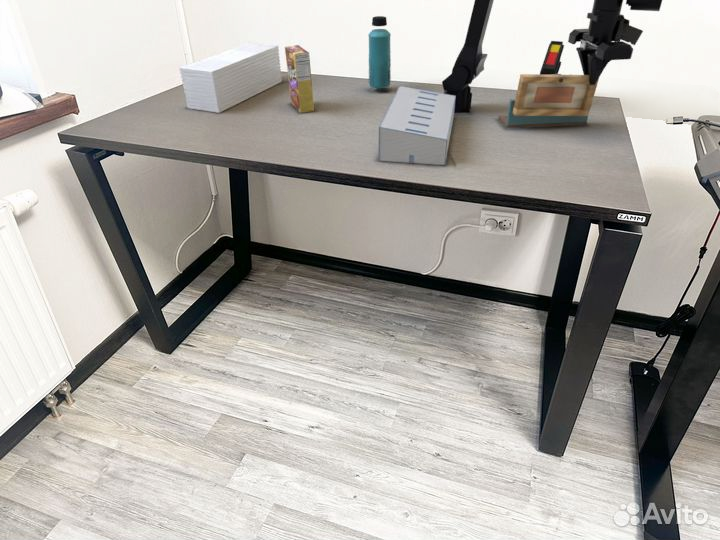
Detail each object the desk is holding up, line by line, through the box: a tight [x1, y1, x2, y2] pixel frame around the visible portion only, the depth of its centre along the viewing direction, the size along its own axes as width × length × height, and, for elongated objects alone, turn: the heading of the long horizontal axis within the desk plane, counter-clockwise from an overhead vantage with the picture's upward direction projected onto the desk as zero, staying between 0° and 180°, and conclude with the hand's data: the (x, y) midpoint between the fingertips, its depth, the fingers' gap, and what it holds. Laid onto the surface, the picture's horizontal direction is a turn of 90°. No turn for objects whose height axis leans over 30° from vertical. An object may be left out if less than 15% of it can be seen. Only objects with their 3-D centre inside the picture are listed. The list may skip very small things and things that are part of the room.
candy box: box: [284, 44, 315, 114], centre depth 139 cm, size 9×4×15 cm, turn 23°
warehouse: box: [378, 85, 456, 166], centre depth 121 cm, size 30×14×8 cm, turn 168°
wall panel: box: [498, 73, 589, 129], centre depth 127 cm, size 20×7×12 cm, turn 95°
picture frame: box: [513, 73, 600, 117], centre depth 122 cm, size 18×2×9 cm, turn 95°
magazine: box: [539, 40, 565, 75], centre depth 141 cm, size 4×13×15 cm, turn 155°
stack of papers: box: [179, 42, 283, 114], centre depth 151 cm, size 32×11×11 cm, turn 155°
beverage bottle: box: [367, 15, 392, 89], centre depth 149 cm, size 6×7×20 cm
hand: (590, 83), depth 121 cm, fingers closed on picture frame, 2 cm apart
